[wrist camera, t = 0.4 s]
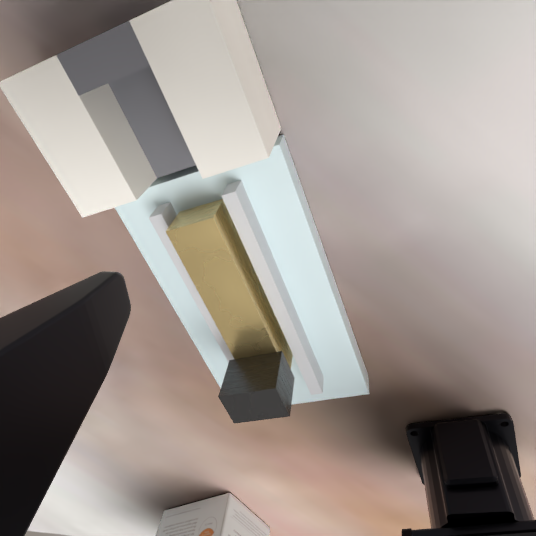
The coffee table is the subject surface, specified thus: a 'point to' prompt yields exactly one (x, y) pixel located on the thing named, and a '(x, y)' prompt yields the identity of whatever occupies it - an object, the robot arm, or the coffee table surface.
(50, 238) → the coffee table surface
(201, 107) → the door and jamb
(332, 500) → the coffee table surface
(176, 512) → the small box
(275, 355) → the bolt
